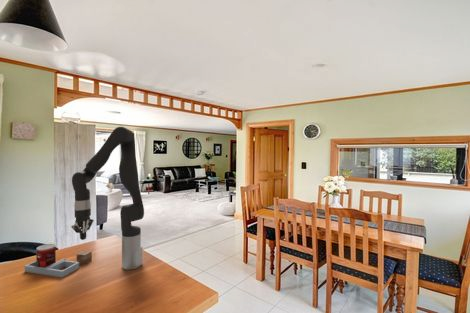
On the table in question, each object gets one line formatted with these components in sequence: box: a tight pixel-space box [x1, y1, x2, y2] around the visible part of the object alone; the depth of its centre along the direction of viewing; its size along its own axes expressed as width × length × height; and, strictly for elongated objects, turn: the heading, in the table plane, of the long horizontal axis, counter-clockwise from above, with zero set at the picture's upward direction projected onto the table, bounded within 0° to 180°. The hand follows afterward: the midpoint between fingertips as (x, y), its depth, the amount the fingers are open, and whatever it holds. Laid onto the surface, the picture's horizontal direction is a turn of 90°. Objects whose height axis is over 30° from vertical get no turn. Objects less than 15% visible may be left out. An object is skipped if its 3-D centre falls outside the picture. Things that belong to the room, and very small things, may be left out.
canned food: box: [35, 243, 57, 268], centre depth 127 cm, size 8×8×11 cm
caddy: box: [24, 257, 80, 278], centre depth 125 cm, size 23×12×3 cm, turn 78°
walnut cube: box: [76, 250, 93, 265], centre depth 134 cm, size 5×5×5 cm
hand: (83, 239), depth 132 cm, fingers closed
